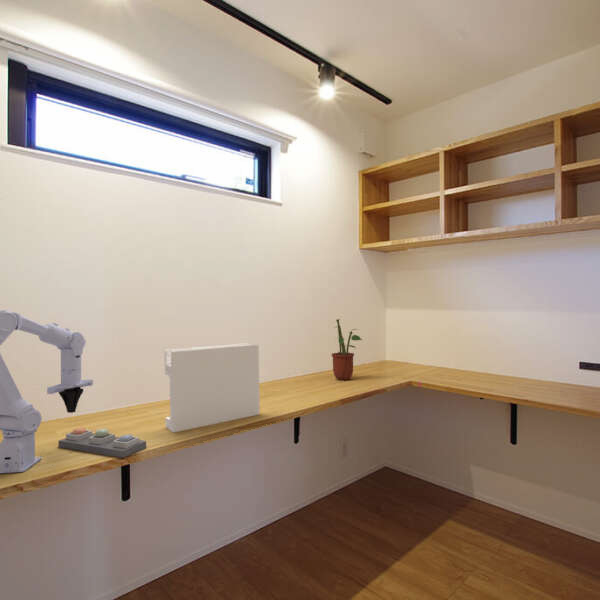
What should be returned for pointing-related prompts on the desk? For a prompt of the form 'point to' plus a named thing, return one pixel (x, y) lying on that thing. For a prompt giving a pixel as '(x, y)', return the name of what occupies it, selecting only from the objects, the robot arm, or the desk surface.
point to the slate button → (126, 438)
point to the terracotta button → (78, 431)
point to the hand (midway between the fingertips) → (71, 412)
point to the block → (212, 385)
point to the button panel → (102, 444)
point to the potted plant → (343, 357)
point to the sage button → (101, 432)
